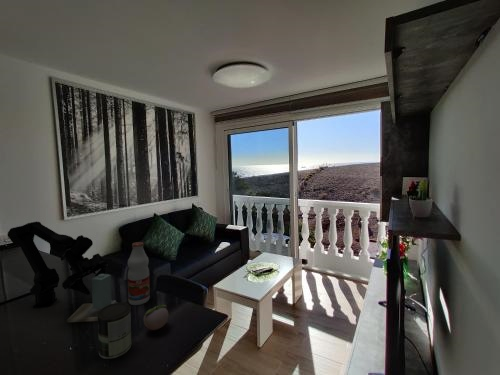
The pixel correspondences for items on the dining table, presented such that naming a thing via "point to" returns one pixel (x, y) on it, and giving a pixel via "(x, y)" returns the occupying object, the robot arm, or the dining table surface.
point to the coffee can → (114, 330)
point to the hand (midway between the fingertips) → (98, 289)
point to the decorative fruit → (156, 317)
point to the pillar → (101, 291)
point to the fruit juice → (138, 275)
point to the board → (85, 313)
